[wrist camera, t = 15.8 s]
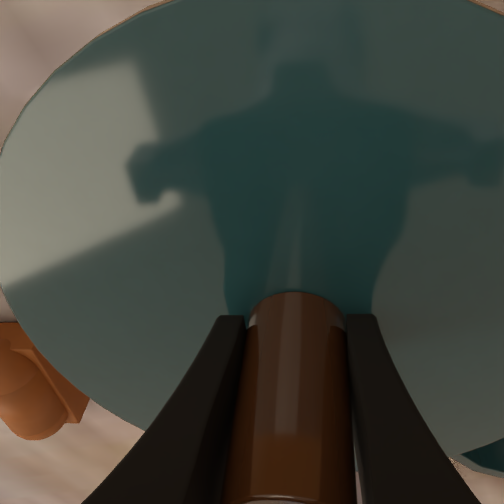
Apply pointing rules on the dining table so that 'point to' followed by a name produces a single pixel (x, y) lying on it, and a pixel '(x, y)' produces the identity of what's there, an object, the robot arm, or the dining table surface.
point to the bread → (34, 389)
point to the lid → (270, 219)
